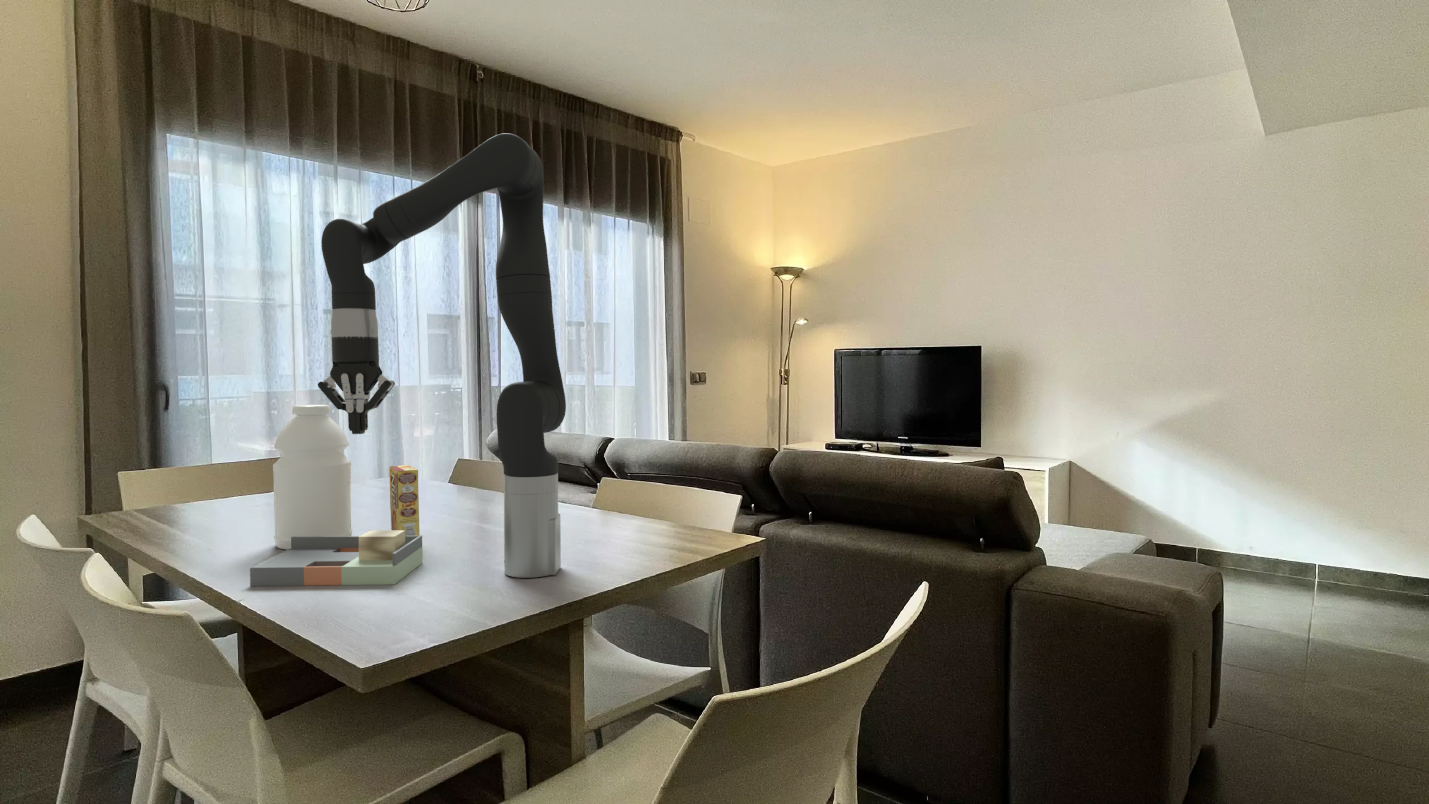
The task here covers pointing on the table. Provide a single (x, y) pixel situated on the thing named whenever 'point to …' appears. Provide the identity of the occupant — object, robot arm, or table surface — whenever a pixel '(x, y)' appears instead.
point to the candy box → (404, 499)
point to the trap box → (335, 563)
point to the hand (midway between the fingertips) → (358, 433)
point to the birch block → (380, 544)
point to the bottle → (311, 478)
